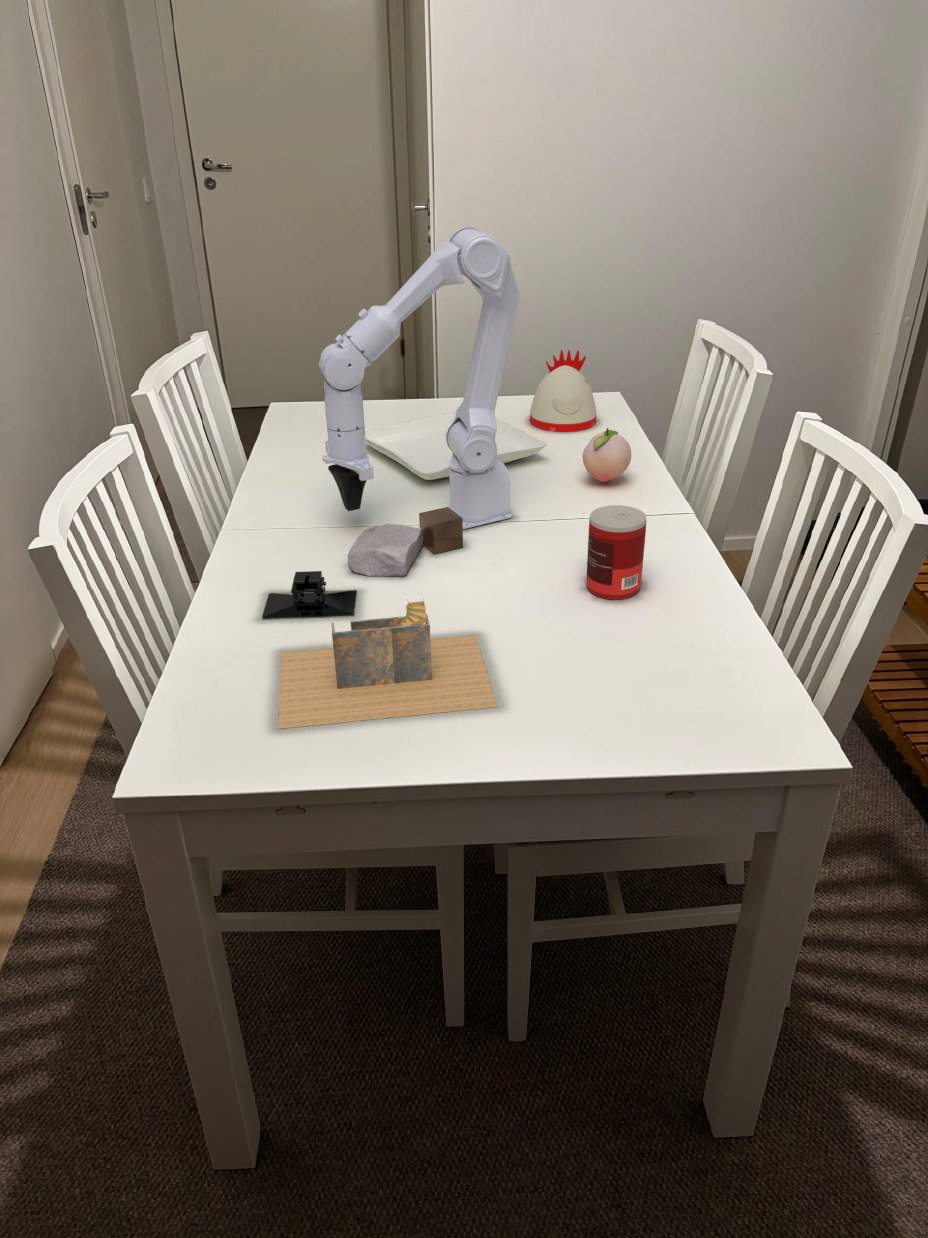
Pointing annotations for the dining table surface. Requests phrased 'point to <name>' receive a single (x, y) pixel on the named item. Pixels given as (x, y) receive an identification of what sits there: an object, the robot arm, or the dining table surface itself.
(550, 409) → the kitchen timer
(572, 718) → the dining table surface
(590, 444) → the decorative fruit
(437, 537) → the walnut cube
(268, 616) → the build plate
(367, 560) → the stone block
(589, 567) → the canned food
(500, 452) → the square plate
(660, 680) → the dining table surface
